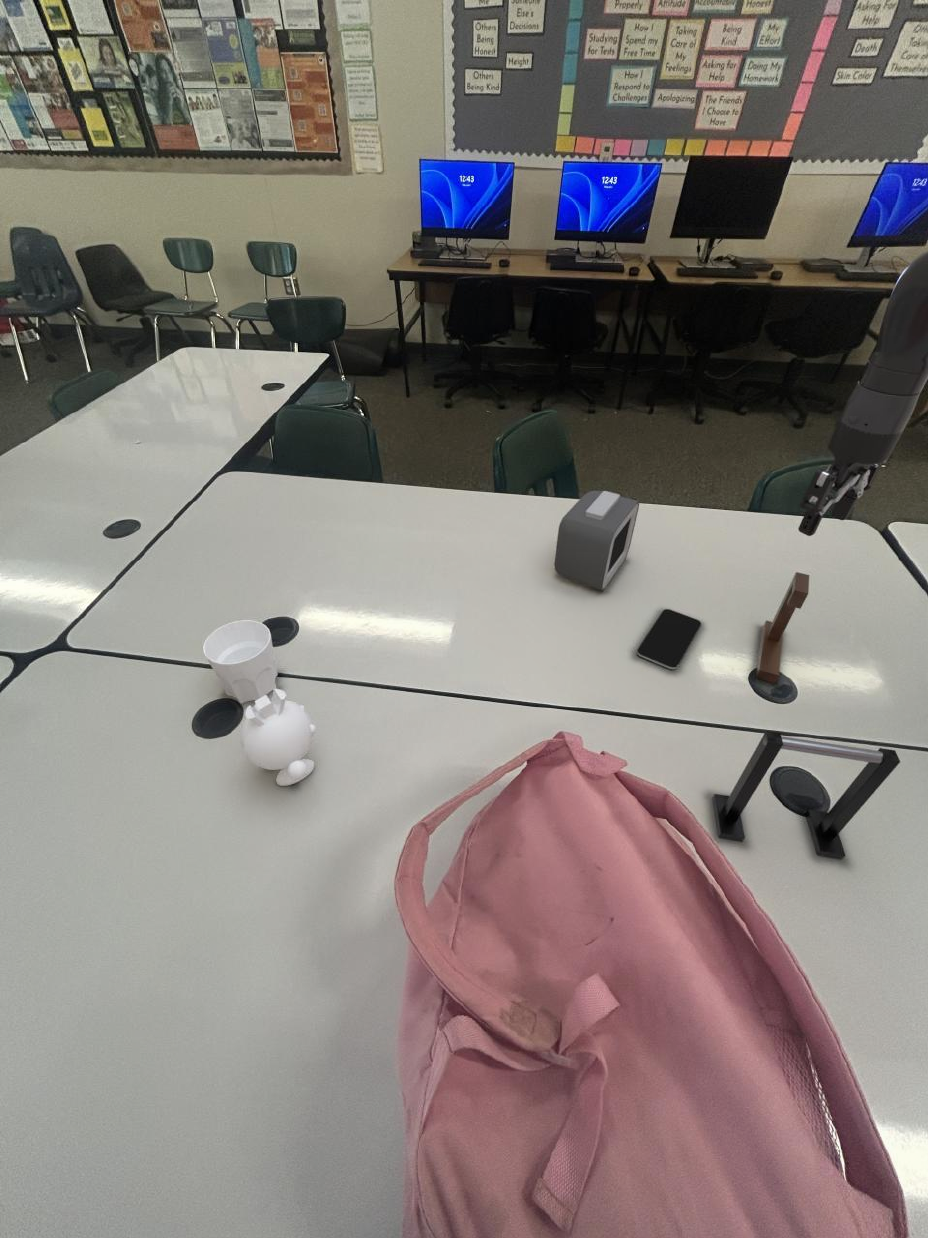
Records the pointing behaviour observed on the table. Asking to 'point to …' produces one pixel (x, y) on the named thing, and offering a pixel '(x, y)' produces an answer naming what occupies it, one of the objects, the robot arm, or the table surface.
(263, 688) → the cup
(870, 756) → the rack
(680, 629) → the smartphone
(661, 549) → the table surface
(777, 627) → the hanger
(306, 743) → the toy robot
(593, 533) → the alarm clock
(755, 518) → the table surface
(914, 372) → the robot arm
